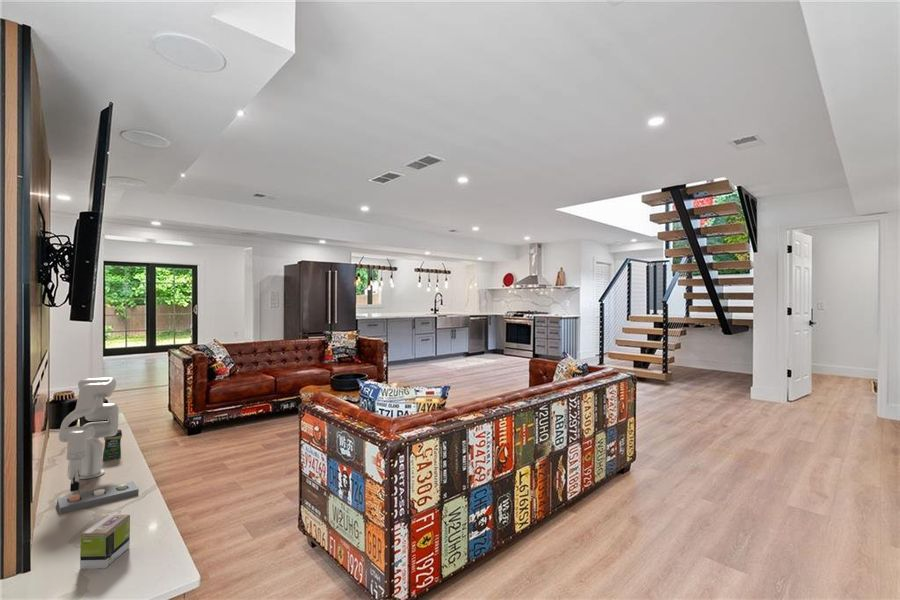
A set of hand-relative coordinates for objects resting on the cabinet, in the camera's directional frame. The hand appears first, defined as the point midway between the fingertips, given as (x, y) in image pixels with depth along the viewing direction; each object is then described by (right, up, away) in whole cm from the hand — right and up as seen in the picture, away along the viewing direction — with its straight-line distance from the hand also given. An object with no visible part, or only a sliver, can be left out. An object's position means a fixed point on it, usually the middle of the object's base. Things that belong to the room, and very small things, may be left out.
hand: (74, 490), depth 220 cm
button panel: (+6, -8, +8) cm, 13 cm away
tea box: (+50, -10, -42) cm, 66 cm away
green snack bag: (-32, -7, +64) cm, 72 cm away
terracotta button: (-1, -6, 0) cm, 6 cm away
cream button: (+6, -7, +8) cm, 12 cm away
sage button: (+13, -7, +15) cm, 21 cm away
